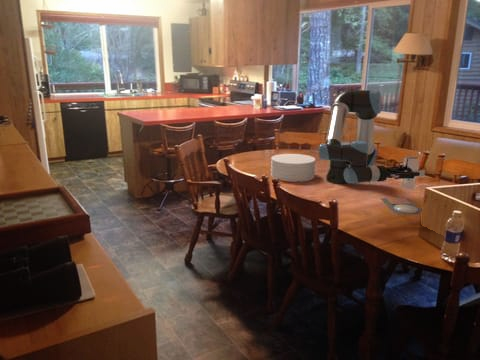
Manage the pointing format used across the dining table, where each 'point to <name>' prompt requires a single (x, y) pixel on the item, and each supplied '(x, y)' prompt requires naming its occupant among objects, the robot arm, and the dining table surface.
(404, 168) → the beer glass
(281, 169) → the plate stack
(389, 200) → the square tile
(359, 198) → the dining table surface
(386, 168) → the robot arm
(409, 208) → the round coaster
